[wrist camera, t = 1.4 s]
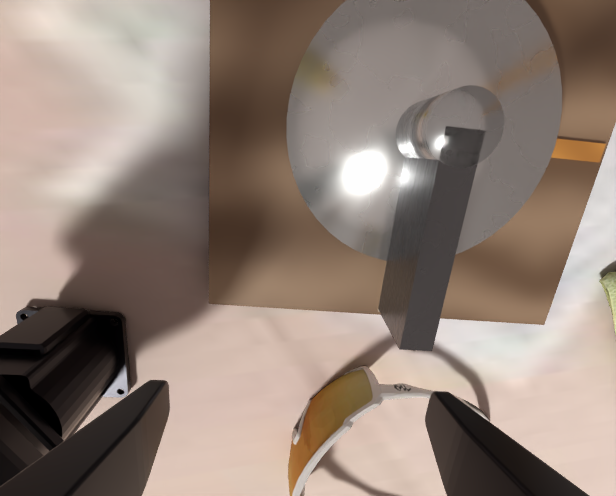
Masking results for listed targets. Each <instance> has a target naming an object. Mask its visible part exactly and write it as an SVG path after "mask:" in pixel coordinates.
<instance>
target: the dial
mask: <svg viewBox="0 0 616 496" xmlns="http://www.w3.org/2000/svg"><path fill="white" fill-rule="evenodd" d="M561 112H562V84H561V75H560V68H559V64H558V60H557V56H556V52H555V49H554V47H553V44H552V42H551V39H550V37H549V34H548V32H547V31H546V29H545V27H544V25H543V24H542V22H541V20H540V19H539V17H538V15H537V14H536V13H535V12H534V10H533V9H532V8H531V7H530V6H529V4H528V3H527V2H526V1H525V0H346V1H345V2H344V3H342V4H341V5H340V6H339V7H338V8H337V9H336V10H335V11H334V13H333V14H332V15H331V16H330V17H329V18H328V19H327V20H326V21H325V22H324V24H323V25H322V27H321V28H320V29H319V31H318V32H317V34H316V35H315V36H314V38H313V39H312V41H311V43H310V45H309V47H308V48H307V50H306V52H305V54H304V56H303V58H302V60H301V63H300V65H299V68H298V70H297V73H296V75H295V78H294V82H293V86H292V90H291V93H290V97H289V104H288V112H287V137H286V138H287V147H288V155H289V160H290V164H291V168H292V172H293V176H294V178H295V181H296V184H297V186H298V189H299V191H300V193H301V195H302V197H303V199H304V201H305V202H306V204H307V206H308V208H309V209H310V210H311V212H312V213H313V214H314V216H315V217H316V219H317V220H318V221H319V222H320V223H321V224H322V225H323V226H324V227H325V228H326V229H327V230H328V231H329V232H330V233H331V234H332V235H333V236H335V237H336V238H337V239H338V240H340V241H341V242H342V243H344V244H346V245H347V246H349V247H351V248H352V249H354V250H356V251H358V252H361V253H363V254H365V255H368V256H370V257H374V258H378V259H381V260H385V261H386V267H385V273H384V278H383V284H382V290H381V295H380V301H379V306H378V310H379V312H380V313H381V315H382V317H383V319H384V321H385V323H386V325H387V327H388V328H389V330H390V332H391V334H392V336H393V338H394V340H395V342H396V343H397V345H398V347H399V349H405V350H423V351H432V349H433V345H434V341H435V337H436V332H437V328H438V324H439V320H440V316H441V312H442V308H443V304H444V300H445V295H446V291H447V287H448V283H449V279H450V275H451V271H452V267H453V263H454V259H455V254H458V253H461V252H463V251H465V250H467V249H469V248H471V247H473V246H475V245H477V244H479V243H481V242H482V241H484V240H485V239H487V238H488V237H490V236H491V235H493V234H494V233H495V232H497V231H498V230H499V229H500V228H501V227H503V226H504V225H505V224H506V223H507V222H508V221H509V220H510V219H511V218H512V217H513V216H514V215H515V214H516V213H517V212H518V211H519V210H520V209H521V207H522V206H523V205H524V204H525V202H526V201H527V200H528V199H529V197H530V196H531V194H532V193H533V191H534V190H535V188H536V187H537V185H538V184H539V182H540V180H541V178H542V176H543V174H544V172H545V170H546V168H547V166H548V164H549V161H550V158H551V156H552V153H553V150H554V148H555V144H556V140H557V136H558V132H559V128H560V120H561Z"/></svg>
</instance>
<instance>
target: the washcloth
mask: <svg viewBox="0 0 616 496" xmlns="http://www.w3.org/2000/svg"><path fill="white" fill-rule="evenodd" d="M599 282H601V284H602V286H603V288H604V291H605V293H606V296H607V300H608V302H609V306H610V307H611V310H612V315H613V323H614V329H615V334H616V272H609V273H607V275H606V276H604V277H603V278H602V279H600V281H599Z"/></svg>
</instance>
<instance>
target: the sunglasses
mask: <svg viewBox="0 0 616 496" xmlns="http://www.w3.org/2000/svg"><path fill="white" fill-rule="evenodd" d="M432 392H434V391H431V390H426V389H421V388H417V387H413V386H410V385H407V384H394V385H384V384H379V383H378V381H377V379H376V377H375V375H374V374H373V373H372V371H371V370H370V369H369V368H368V367H366V366H361V367H358V368H355V369H353V370H351V371H348V372H346V373H345V374H344V375H343V376H341V377H339V378H338V379H336V380H335V381H333V382H332V383H330V384H329V385H327V386H326V387H325V388H323V389H322V390H321V391H320V392H319V393H318V394H317V395H316V396H315V397H314V398H313V399H312V400H309V402H308V404H307V406H306V408H305V410H304V412H303V416H302V418H301V421H300V424H299V428H298V429H295V428H294V429H293V433H292V444H291V451H290V458H289V465H288V479H289V491H290V496H304V491H305V483H306V481H307V479H308V477H309V475H310V473H311V472H312V471H313V469H314V468H315V466H316V465H317V463H318V462H319V460H320V459H321V458H322V456H323V455H324V454H325V453H326V452H327V451H328V450H329V448H330V447H331V446H332V445H333V444H334V443H335V442H336V441H337V440H338V439H339V438H340V437H341V436H342V435H343V434H345V433H346V432H347V431H348V430H349V429H351V427H352V424H353V422H355V421H356V420H357V419H359V418H360V417H361V416H363V415H364V414H366V413H367V412H369V411H371V410H372V409H374V408H375V407H377V406H379V405H380V404H381V402H382V401H383V400H390V399H403V398H430V396H431V394H432ZM455 397H456V398H458V399H459V400H460V401H462V402H463V403H464V404H466V405H467V406H468V407H470V408H471V409H473V410H474V411H475V412H477V413H478V414H479V415H481V416H482V417H483V418H485V419H486V420H487V421H489V419H488V418H487V417H486V415H485V414H484V413H483V412H482V411H481V410H480V409H479V408H477V407H476V406H474V405H473V404H471V403H469V402H467V401H465V400H463V399H461V398H459V397H457V396H455ZM489 422H490V421H489Z"/></svg>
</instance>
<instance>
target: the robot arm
mask: <svg viewBox="0 0 616 496" xmlns="http://www.w3.org/2000/svg"><path fill="white" fill-rule="evenodd" d="M26 314H27V315H28V317H27V316H26ZM16 318H17V324H18V325H16V326H15V327H13V328H11V329H10V330H8V331H7V332H5V333H4V334H2V335H1V336H0V496H142V494H143V491H144V489H145V486H146V483H147V481H148V478H149V475H150V472H151V469H152V466H153V463H154V459H155V456H156V453H157V450H158V447H159V444H160V441H161V438H162V435H163V432H164V429H165V426H166V423H167V420H168V416H169V410H170V403H169V385H168V382H167V381H165V380H150V381H148V382H146V383H145V384H144V385H142V386H141V387H139V388H138V389H137V390H135V391H134V392H132V393H131V394H130V395H128V396H127V394H128V393H129V391H130V389H131V385H130V373H129V360H128V348H127V336H126V323H125V317H124V316H123V315H122V314H120V313H117V312H101V311H88V310H86V309H79V308H63V307H44V308H34V307H25V308H23V309H22V310H20V311H18V312H17V314H16ZM114 319H116V320H117V321H118V323H117V322H115V321H114ZM121 389H123V390H124V391H123V390H121ZM125 396H127V397H125ZM102 397H125V398H124V399H122V400H121V401H120V402H118V403H117V404H115V405H114V406H113V407H111V408H110V409H108V410H107V411H106V412H104V413H103V414H101V415H100V416H99V417H97V418H96V419H94V420H93V421H92V422H90V423H89V424H87V425H86V426H85V427H83V428H82V429H80V430H79V431H77V429H78V428H79V427H80V425H81V424H82V423H83V421H84V420H85V419H86V417H87V416H88V415H89V414H90V412H91V411H92V410H93V408H94V407H95V406H96V404H97V403H98V402H99V400H100V399H101V398H102ZM425 423H426V428H427V431H428V435H429V438H430V441H431V445H432V448H433V451H434V455H435V458H436V462H437V465H438V468H439V472H440V475H441V479H442V482H443V485H444V488H445V491H446V494H447V496H589V495H588V494H586V493H585V492H584V491H582V490H581V489H580V488H578V487H577V486H576V485H574V484H573V483H571V482H570V481H569V480H567V479H566V478H565V477H563V476H562V475H561V474H559V473H558V472H557V471H555V470H554V469H552V468H551V467H550V466H548V465H547V464H546V463H544V462H543V461H542V460H540V459H539V458H538V457H536V456H535V455H533V454H532V453H531V452H529V451H528V450H527V449H525V448H524V447H523V446H521V445H520V444H519V443H517V442H516V441H515V440H513V439H512V438H510V437H509V436H508V435H506V434H505V433H504V432H502V431H501V430H500V429H498V428H497V427H496V426H494V425H493V424H491V423H490V422H489V421H487V420H486V419H485V418H483V417H482V416H481V415H479V414H478V413H477V412H475V411H474V410H473V409H471V408H470V407H468V406H467V405H466V404H464V403H463V402H462V401H460V400H459V399H458V398H456V397H455V396H454V395H452V394H451V393H449V392H442V391H434V392H432V394H431V396H430V400H429V404H428V408H427V412H426V416H425ZM76 431H77V432H76ZM75 432H76V433H75ZM74 433H75V434H74Z"/></svg>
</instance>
